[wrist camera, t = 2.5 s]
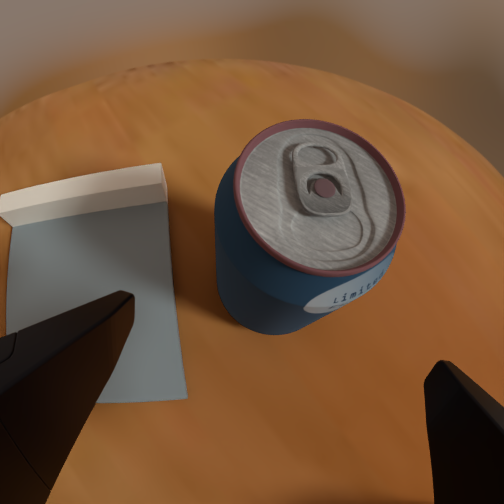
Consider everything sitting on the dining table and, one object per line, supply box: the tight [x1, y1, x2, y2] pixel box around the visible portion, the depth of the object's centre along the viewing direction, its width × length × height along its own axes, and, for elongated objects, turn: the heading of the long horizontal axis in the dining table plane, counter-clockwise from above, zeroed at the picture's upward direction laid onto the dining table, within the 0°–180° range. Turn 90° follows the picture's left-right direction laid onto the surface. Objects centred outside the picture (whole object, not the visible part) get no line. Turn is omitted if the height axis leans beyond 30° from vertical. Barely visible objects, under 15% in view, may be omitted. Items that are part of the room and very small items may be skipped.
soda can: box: [214, 119, 406, 335], centre depth 15 cm, size 7×7×12 cm
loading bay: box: [0, 163, 188, 403], centre depth 18 cm, size 15×13×3 cm
